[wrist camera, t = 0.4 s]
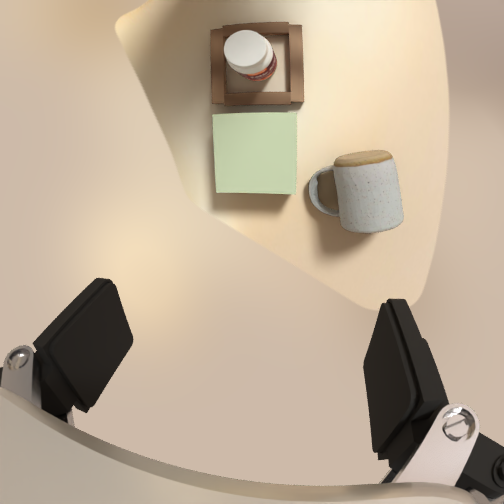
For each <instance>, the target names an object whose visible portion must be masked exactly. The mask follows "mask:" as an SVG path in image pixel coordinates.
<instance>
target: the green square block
mask: <svg viewBox="0 0 504 504" xmlns="http://www.w3.org/2000/svg"><path fill="white" fill-rule="evenodd" d="M212 120H213V143H214V163H215V181H216V193H270V194H296V170H297V113H284V112H260V113H230V114H213V115H212Z"/></svg>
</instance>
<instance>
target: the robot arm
mask: <svg viewBox="0 0 504 504" xmlns="http://www.w3.org/2000/svg"><path fill="white" fill-rule="evenodd" d="M132 344H133V335H132V333H131V330H130V327H129V324H128V322H127V319H126V316H125V313H124V310H123V307H122V304H121V301H120V298H119V294H118V291H117V288H116V286H115V284H113V282H112V281H111V280H110V279H104V278H96V279H95V280H94V281H93V282H92V283H91V284H90V285H88V286H87V287H86V288H85V289H84V290H83V291H82V292H81V293H80V294H79V295H78V296H77V297H76V298H75V299H74V300H73V301H72V302H71V303H70V304H69V305H68V306H67V307H66V308H65V309H64V310H63V311H62V312H61V313H60V314H59V315H58V316H57V318H56V319H55V320H54V321H53V322H52V323H51V324H50V325H49V326H48V327H47V328H46V329H45V330H44V331H43V333H42V334H41V335H40V336H39V337H38V338H37V339H36V340H35V341H34V342H33V345H34V347H35V348H36V350H37V351H36V352H35V353H34V352H33V350H32V348H31V347H29V346H26V345H23V346H19V347H16V348H15V349H13V350H11V352H10V353H8V355H7V356H6V358H5V361H4V366H3V367H1V368H0V504H504V447H503V446H501V445H499V444H498V443H496V442H495V441H493V440H491V439H489V438H488V437H486V436H484V435H483V434H481V433H480V432H479V429H480V423H479V419H478V417H477V414H476V413H475V412H474V410H473V409H471V408H470V407H469V406H467V405H465V404H461V403H452V404H449V402H448V399H447V396H446V393H445V389H444V386H443V384H442V381H441V378H440V375H439V372H438V369H437V366H436V364H435V361H434V359H433V356H432V353H431V351H430V348H429V346H428V343H427V341H426V340H425V339H424V338H422V337H421V334H420V332H419V330H418V327H417V325H416V322H415V320H414V318H413V315H412V313H411V311H410V308H409V306H408V304H407V302H406V300H405V299H388V300H387V302H386V303H382V304H381V307H380V311H379V314H378V318H377V321H376V325H375V328H374V332H373V335H372V338H371V341H370V345H369V348H368V351H367V353H366V357H365V359H364V366H363V369H364V376H365V384H366V391H367V399H368V407H369V416H370V426H371V437H372V449H373V452H374V453H376V452H378V460H384V459H388V460H389V467H390V468H391V469H390V470H389V471H388V472H387V474H386V475H385V476H384V478H383V479H382V480H381V481H380V482H379V484H367V485H366V484H365V485H348V486H304V485H284V484H271V483H261V482H252V481H245V480H238V479H232V478H226V477H221V476H216V475H211V474H206V473H201V472H197V471H193V470H188V469H184V468H181V467H177V466H173V465H170V464H166V463H163V462H159V461H157V460H153V459H150V458H147V457H144V456H141V455H138V454H136V453H133V452H130V451H128V450H125V449H122V448H120V447H117V446H115V445H112V444H110V443H107V442H105V441H103V440H101V439H98V438H96V437H94V436H92V435H89V434H87V433H85V432H83V431H81V430H79V429H77V428H75V426H74V421H73V414H72V406H73V405H74V406H75V407H76V408H77V409H79V410H81V411H83V412H85V413H87V412H88V410H89V408H90V407H93V406H94V405H95V403H96V401H97V400H98V398H99V396H100V394H101V393H102V392H103V390H104V388H105V387H106V385H107V384H108V382H109V380H110V379H111V377H112V376H113V374H114V372H115V371H116V369H117V368H118V366H119V365H120V363H121V361H122V360H123V358H124V357H125V355H126V354H127V352H128V350H129V349H130V347H131V346H132Z"/></svg>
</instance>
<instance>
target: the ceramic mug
mask: <svg viewBox="0 0 504 504" xmlns="http://www.w3.org/2000/svg"><path fill="white" fill-rule="evenodd" d="M326 171H334V179H335V185H336V190H337V196H338V206H339V210H334V209H331V208H328V207H326V206H324V205H323V204H322V203H321V202H320V200H319V198H318V191H317V185H318V181H317V177H318V176H319V175H320V174H321V173H323V172H326ZM309 196H310V199H311V202H312V203H313V205H314V206H315V207H316V208H317V209H318V210H320V211H321V212H323V213H325V214H328V215H331V216H336V217H340V222H341V226H342V227H343V228H344V229H346V230H348V231H351V232H356V233H376V232H383V231H386V230H390V229H393V228H395V227H397V226H399V225H400V224H401V223H402V221H403V219H404V215H403V208H402V200H401V193H400V187H399V181H398V174H397V169H396V165H395V162H394V159H393V157H392V155H391V154H390V153H389V152H387V151H383V150H375V151H364V152H357V153H352V154H347V155H343V156H340V157H338V158H337V159H336V160H335V162H334V166H328V167H325V168H322V169H321V170H319V171H317V172H316V173H315V174H314V175H313V176H312V178H311V180H310V182H309Z"/></svg>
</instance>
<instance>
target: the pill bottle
mask: <svg viewBox="0 0 504 504" xmlns="http://www.w3.org/2000/svg"><path fill="white" fill-rule="evenodd" d="M224 54H225V57H226V59H227V61H228V64H229V65H230V66H231V67H232V68H233V69H234V70H235V71H236V72H238V73H239V74H241V75H242V76H243V77H245V78H246V79H249V80H252V81H262V80H265V79H267V78H269V77H270V76H271V75H272V74H273V73H274V72H275V70H276V67H277V60H276V56H275V54H274V51H273V48H272V46H271V44H270V43H269V41H268V40H267V39H266V38H264V37H263V36H261V35H260V34H258V33H257V32H254V31H251V30H242V31H238V32H236V33H234V34H232V35H231V36H230V37H229V38H228V39H227V40H226V42H225V45H224Z"/></svg>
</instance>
